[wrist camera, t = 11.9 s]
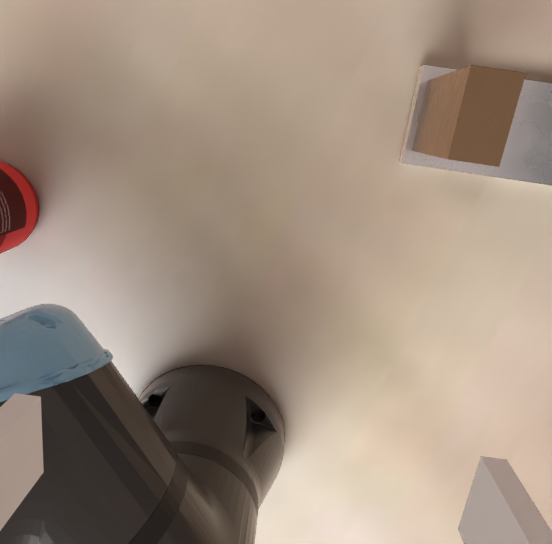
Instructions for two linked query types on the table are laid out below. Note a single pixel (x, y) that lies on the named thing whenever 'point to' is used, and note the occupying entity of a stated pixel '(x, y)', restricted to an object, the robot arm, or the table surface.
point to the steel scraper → (481, 123)
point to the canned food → (16, 207)
